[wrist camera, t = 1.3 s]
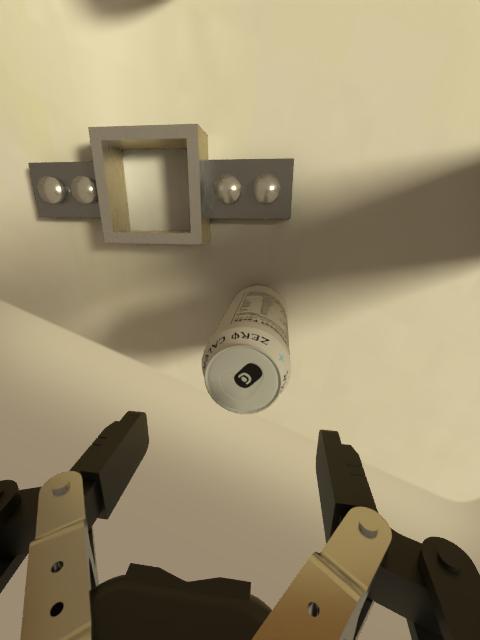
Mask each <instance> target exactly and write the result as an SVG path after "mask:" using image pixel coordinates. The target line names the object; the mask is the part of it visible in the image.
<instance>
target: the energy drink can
mask: <svg viewBox="0 0 480 640" xmlns="http://www.w3.org/2000/svg"><path fill="white" fill-rule="evenodd" d="M202 370H203V375H204V377H205V385H206V388H207V390H208V393H209V394H210V396H211V397H212V399H213V400H214V401H215V402H216V403H217V404H219V405H220V406H221V407H223V408H225V409H227V410H228V411H231V412H235V413H240V414H252V413H257V412H260V411H262V410H265V409H266V408H268V407H269V406H271V405H272V404H273V403H274V402H275V400H276V399H277V397H278V396H279V394H281V393H282V392H283V390H284V389H285V387H286V386H287V383H288V381H289V378H290V372H291V365H290V352H289V339H288V326H287V313H286V306H285V303H284V301H283V299H282V297H281V296H280V295H279V294H278V293H277V292H276V291H274V290H273V289H271V288H269V287H266V286H260V285H255V286H250V287H247V288H245V289H243V290H241V291H240V292H239V293H238V294H237V295H236V296H235V297H234V299H233V301H232V302H231V304H230V306H229V308H228V309H227V311H226V313H225V315H224V316H223V318H222V320H221V322H220V323H219V325H218V327H217V329H216V330H215V332H214V334H213V336H212V337H211V339H210V341H209V343H208V344H207V346H206V348H205V350H204V353H203V357H202Z"/></svg>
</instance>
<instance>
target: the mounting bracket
mask: <svg viewBox="0 0 480 640" xmlns="http://www.w3.org/2000/svg"><path fill="white" fill-rule="evenodd" d="M88 128H89V135H90V143H91V150H92V157H93V162H52V163H28V164H29V169H30V174H31V179H32V184H33V189H34V194H35V198H36V203H37V208H38V213H39V217H91V218H101V222H102V229H103V236H104V243H139V244H195V245H202V244H205V243H208V242H210V218H230V219H290V216H291V199H292V182H293V165H294V159H236V160H208V135H207V134H206V133H205V132H204V131H203V129H202V128H201V127H200V126H199V125H198V124H178V125H145V126H113V127H88ZM160 148H187V159H188V181H189V203H190V225H191V232H189V231H130V223H129V214H128V205H127V195H126V186H125V177H124V168H123V159H122V150H121V149H160Z"/></svg>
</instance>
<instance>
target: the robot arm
mask: <svg viewBox="0 0 480 640" xmlns="http://www.w3.org/2000/svg"><path fill="white" fill-rule="evenodd" d="M148 444H149V436H148V426H147V418H146V414H145V413H144V412H135V411H128V412H127V413H126V414H125V415H124V417H123V418H122V419H121V420H120V421H115V422H114V423H112V424H110V425H109V426H108V427H106V428H105V429H104V430H103V431H102V432H101V434H100V435H99V436H98V438H97V439H96V440H95V441H94V442H93V443H92V445H91V446H90V447H89V448H88V449H87V450H86V452H85V453H84V454H83V455H82V456H81V458H80V459H79V460H78V461H77V462H76V464H75V465H74V466H73V467H72V468H71V469H70V471H67V472H62V473H59V474H57V475H55V476H54V477H52V478H50V479H49V480H48V481H47V482H46V483H45V484H44V485H43V486H42V487H36V488H30V489H24V490H19V488H18V485H17V483H16V482H15V481H12V480H3V481H0V593H1V592H2V590H3V589H4V587H5V586H6V584H7V583H8V582H9V580H10V579H11V577H12V576H13V574H14V573H15V572H16V570H17V569H18V567H19V566H20V564H21V563H22V561H23V560H24V559H25V557H26V556H27V554H28V553H29V556H28V567H27V576H26V586H25V597H24V608H23V618H22V630H21V639H20V640H357V639H358V637H359V635H360V633H361V630H362V628H363V626H364V624H365V622H366V620H367V617H368V615H369V613H370V611H371V608H372V606H373V604H374V602H376V603H378V604H380V605H382V606H384V607H386V608H388V609H390V610H392V611H394V612H395V613H397V614H399V615H401V616H403V617H405V618H406V619H407V622H408V627H409V630H410V634H411V637H412V640H480V575H479V573H478V571H477V569H476V567H475V565H474V563H473V562H472V560H471V559H470V558H469V556H468V555H467V554H466V553H465V552H464V551H463V550H461V548H459V547H458V546H457V545H455V544H454V543H452V542H450V541H448V540H446V539H444V538H440V537H429V538H427V539H425V540H424V541H423V543H419V542H417V541H414V540H412V539H410V538H407V537H405V536H403V535H401V534H399V533H397V532H395V531H394V530H393V529H391V528H390V526H389V524H388V523H387V521H386V520H385V519H384V518H383V517H382V516H381V515H380V514H379V513H378V511H377V509H376V505H375V502H374V499H373V496H372V493H371V490H370V487H369V484H368V482H367V478H366V477H365V472H364V469H363V468H362V463H361V460H360V457H359V455H358V453H357V452H356V451H355V450H354V449H353V447H352V446H351V445H345V444H341V441H340V437H339V434H338V432H337V431H329V430H320V431H319V438H318V447H317V455H316V474H317V481H318V488H319V495H320V502H321V509H322V516H323V523H324V530H325V537H326V545H325V547H324V548H323V550H322V551H321V552H320V553H317V552H314V553H313V554H312V555H311V556H310V558H309V559H308V560H307V562H306V563H305V565H304V566H303V567H302V569H301V570H300V572H299V573H298V574H297V576H296V577H295V579H294V580H293V582H292V583H291V584H290V586H289V587H288V589H287V590H286V592H285V593H284V594H283V596H282V597H281V599H280V600H279V601H278V603H277V604H276V606H275V607H274V609H273V610H271V608H270V607H268V606H267V605H266V604H265V603H264V602H263V601H261V600H260V599H259V598H257V597H255V596H253V595H251V594H250V590H251V582H246V581H240V580H234V579H227V578H221V577H219V578H212V579H205V580H198V581H191V582H186V581H184V580H182V579H180V578H178V577H176V576H174V575H172V574H170V573H168V572H166V571H164V570H163V569H161V568H158V567H152V566H146V565H139V564H133V563H131V564H130V566H129V568H128V570H127V572H126V575H121V576H118V577H115V578H112V579H110V580H107V581H105V582H104V583H101V584H100V585H99V580H98V574H97V564H96V554H95V544H94V534H93V527H92V525H93V524H94V522H95V521H96V519H97V518H101V519H108V518H109V516H110V514H111V513H112V511H113V509H114V507H115V506H116V504H117V502H118V501H119V499H120V497H121V495H122V493H123V492H124V490H125V488H126V487H127V485H128V483H129V481H130V480H131V478H132V476H133V474H134V473H135V471H136V469H137V467H138V466H139V464H140V462H141V461H142V459H143V457H144V455H145V453H146V451H147V448H148Z"/></svg>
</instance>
